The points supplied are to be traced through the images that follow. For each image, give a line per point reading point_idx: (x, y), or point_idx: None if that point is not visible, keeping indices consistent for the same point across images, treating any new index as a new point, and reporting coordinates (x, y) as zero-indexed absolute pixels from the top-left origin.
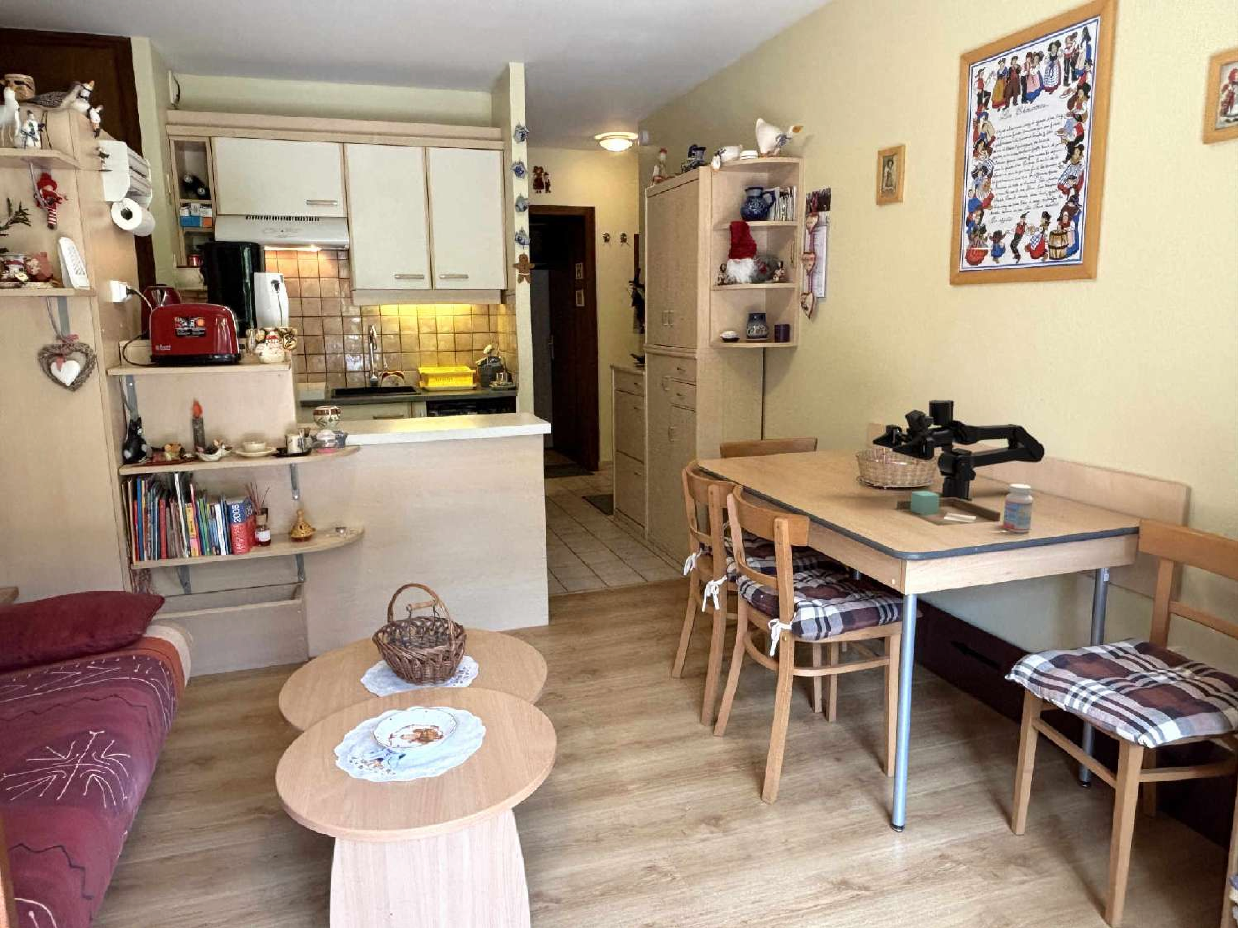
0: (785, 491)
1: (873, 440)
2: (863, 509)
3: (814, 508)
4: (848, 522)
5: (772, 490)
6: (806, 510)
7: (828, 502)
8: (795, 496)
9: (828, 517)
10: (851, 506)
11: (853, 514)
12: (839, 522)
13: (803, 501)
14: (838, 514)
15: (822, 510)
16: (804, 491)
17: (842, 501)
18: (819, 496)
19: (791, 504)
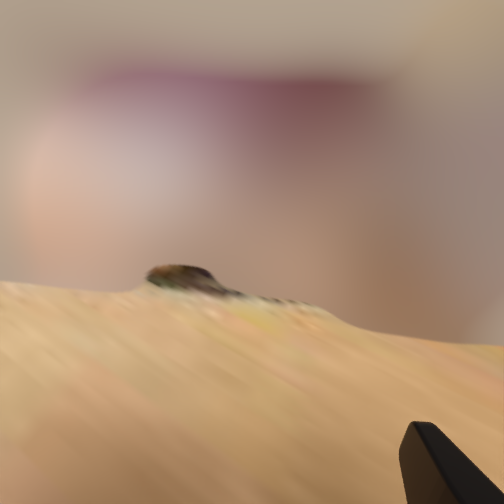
0: (485, 387)
1: (416, 421)
2: (116, 479)
3: (218, 329)
4: (9, 310)
5: (494, 360)
6: (204, 300)
7: (288, 420)
8: (401, 373)
9: (99, 301)
10: (191, 464)
11: (76, 384)
12: (31, 292)
13: (321, 354)
14: (110, 343)
15: (183, 334)
16: (500, 451)
17: (293, 490)
18: None
19: (288, 307)
